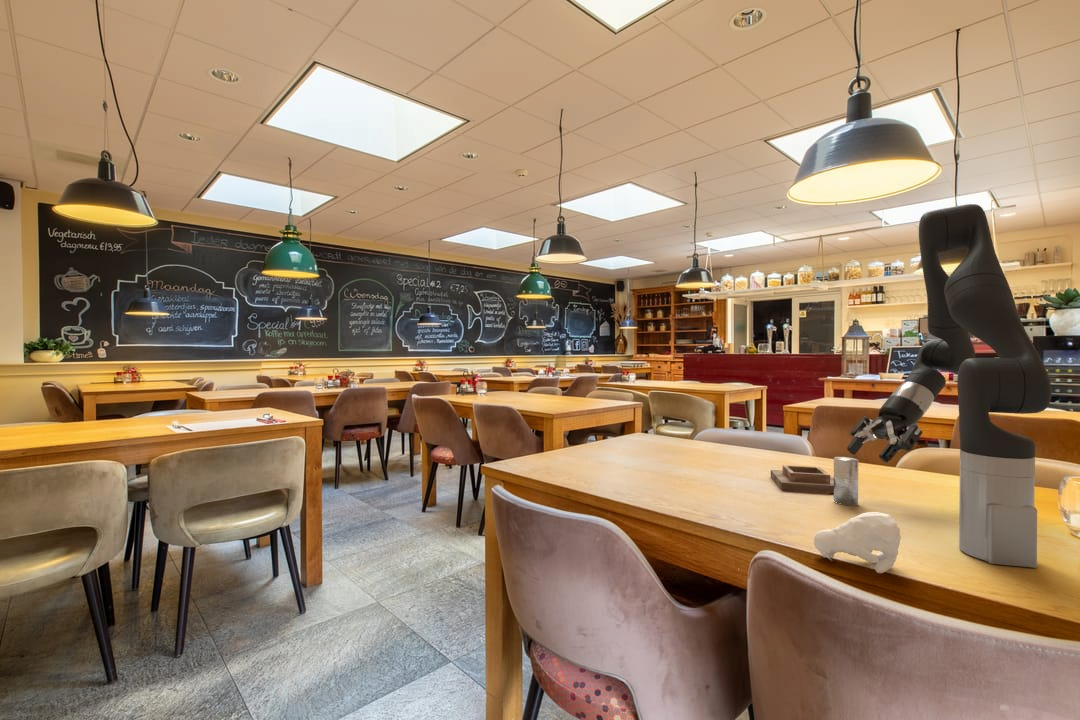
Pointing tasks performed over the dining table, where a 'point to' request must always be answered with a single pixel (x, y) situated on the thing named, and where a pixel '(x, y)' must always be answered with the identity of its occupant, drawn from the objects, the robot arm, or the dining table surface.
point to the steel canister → (846, 480)
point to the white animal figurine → (863, 539)
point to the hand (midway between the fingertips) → (865, 455)
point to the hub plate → (803, 479)
